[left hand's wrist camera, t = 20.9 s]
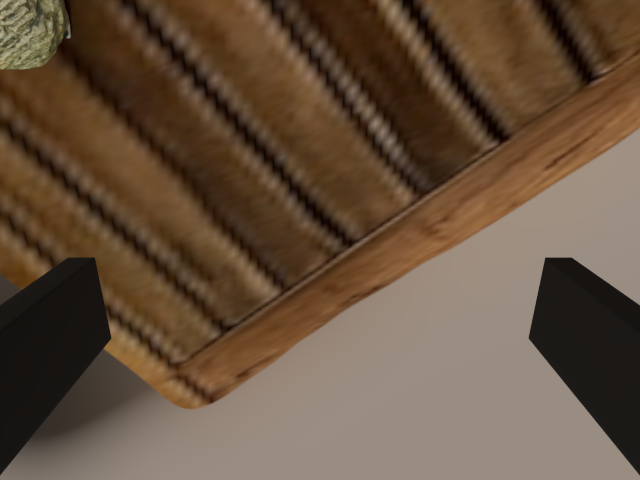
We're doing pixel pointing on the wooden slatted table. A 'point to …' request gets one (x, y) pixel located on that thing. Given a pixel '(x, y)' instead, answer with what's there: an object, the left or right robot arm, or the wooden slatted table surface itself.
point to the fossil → (31, 32)
